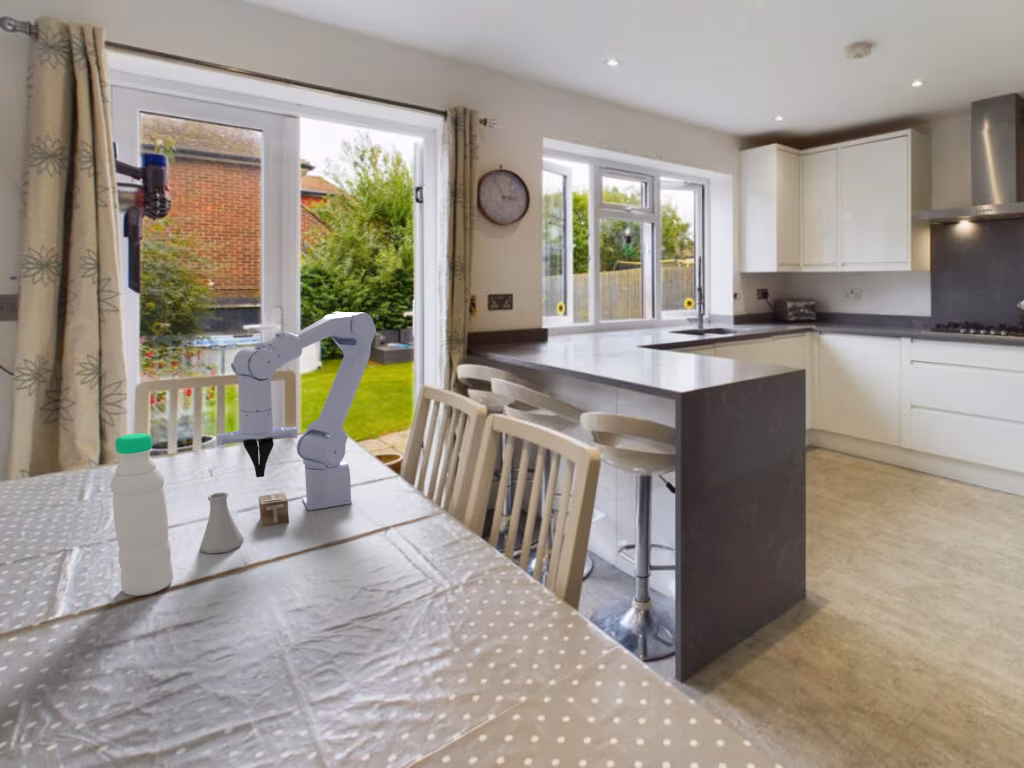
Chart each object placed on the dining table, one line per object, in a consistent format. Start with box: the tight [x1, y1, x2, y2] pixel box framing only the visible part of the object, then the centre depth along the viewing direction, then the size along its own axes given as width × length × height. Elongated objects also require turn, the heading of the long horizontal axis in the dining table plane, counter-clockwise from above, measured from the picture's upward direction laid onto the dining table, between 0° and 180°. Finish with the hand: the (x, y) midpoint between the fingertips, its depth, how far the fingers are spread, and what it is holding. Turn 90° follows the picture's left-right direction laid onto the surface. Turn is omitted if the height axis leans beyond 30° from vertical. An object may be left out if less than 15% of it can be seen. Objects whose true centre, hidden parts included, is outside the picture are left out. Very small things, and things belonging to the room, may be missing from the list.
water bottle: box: [110, 432, 174, 597], centre depth 90 cm, size 7×7×25 cm
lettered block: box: [258, 492, 290, 528], centre depth 118 cm, size 5×5×5 cm
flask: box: [198, 491, 244, 554], centre depth 106 cm, size 7×7×10 cm
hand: (260, 475), depth 115 cm, fingers closed
